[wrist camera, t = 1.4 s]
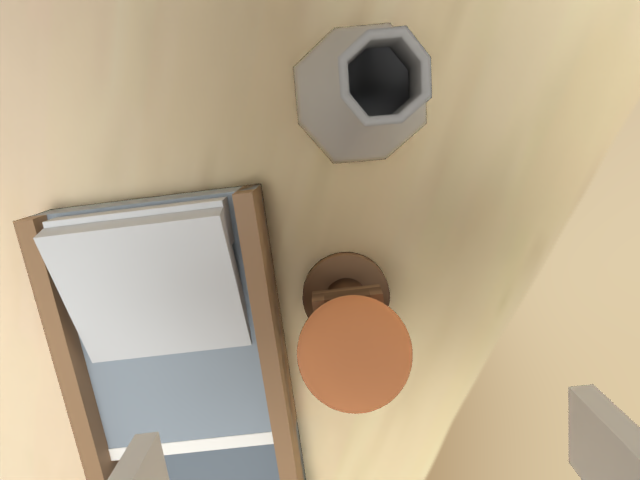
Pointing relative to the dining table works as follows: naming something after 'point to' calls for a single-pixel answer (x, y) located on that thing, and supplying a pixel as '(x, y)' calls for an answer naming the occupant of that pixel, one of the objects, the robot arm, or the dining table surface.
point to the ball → (354, 354)
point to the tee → (343, 280)
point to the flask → (363, 91)
